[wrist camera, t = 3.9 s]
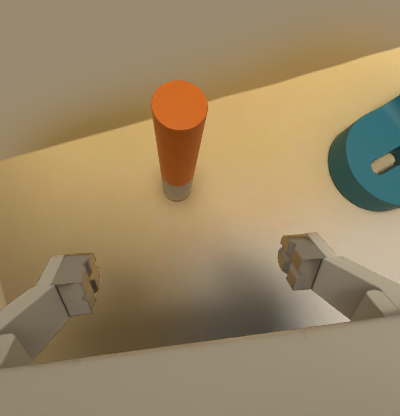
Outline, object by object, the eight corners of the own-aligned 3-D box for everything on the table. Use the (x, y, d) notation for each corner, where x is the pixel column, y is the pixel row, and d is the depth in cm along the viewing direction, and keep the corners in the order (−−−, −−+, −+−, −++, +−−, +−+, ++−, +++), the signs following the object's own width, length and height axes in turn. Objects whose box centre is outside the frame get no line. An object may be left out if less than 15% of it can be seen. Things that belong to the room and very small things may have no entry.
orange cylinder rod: (167, 204, 25) (158, 135, 12) (160, 178, 26) (145, 84, 12) (193, 197, 26) (214, 123, 12) (186, 173, 26) (199, 75, 13)
